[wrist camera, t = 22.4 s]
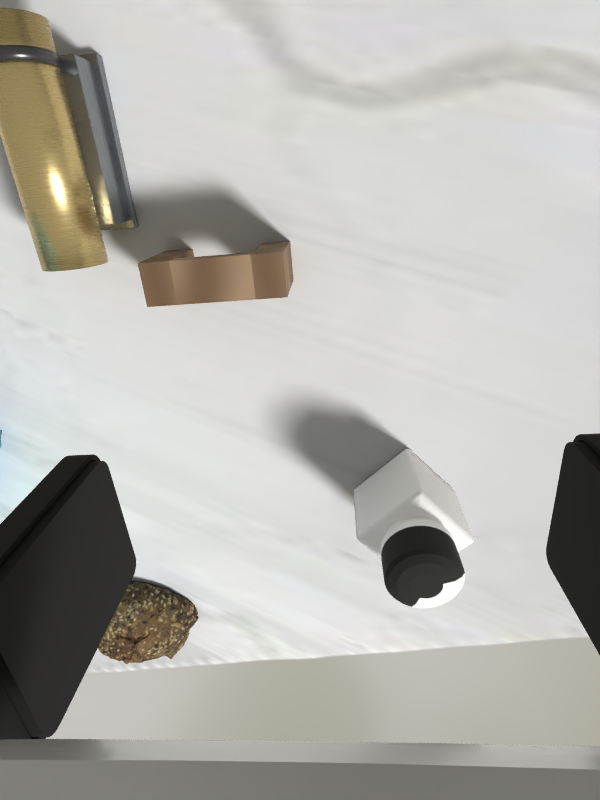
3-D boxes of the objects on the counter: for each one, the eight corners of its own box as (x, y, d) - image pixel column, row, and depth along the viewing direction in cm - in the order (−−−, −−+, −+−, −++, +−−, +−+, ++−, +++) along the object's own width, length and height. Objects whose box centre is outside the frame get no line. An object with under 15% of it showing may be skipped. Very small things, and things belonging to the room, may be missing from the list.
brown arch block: (289, 241, 37) (282, 252, 31) (293, 280, 38) (287, 297, 32) (165, 251, 37) (137, 263, 32) (172, 288, 39) (147, 306, 33)
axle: (16, 36, 30) (-55, 20, 27) (65, 21, 28) (-3, 1, 25) (77, 260, 36) (27, 271, 33) (121, 259, 34) (73, 271, 31)
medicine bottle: (351, 489, 46) (358, 584, 35) (407, 445, 44) (432, 533, 33) (400, 530, 48) (420, 633, 37) (456, 491, 46) (495, 588, 35)
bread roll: (102, 563, 53) (80, 598, 48) (206, 595, 54) (195, 633, 50) (84, 634, 58) (63, 672, 54) (179, 663, 59) (167, 702, 55)
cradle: (101, 56, 32) (77, 43, 29) (138, 226, 37) (120, 230, 34) (13, 66, 33) (-20, 55, 30) (60, 233, 37) (36, 237, 34)
